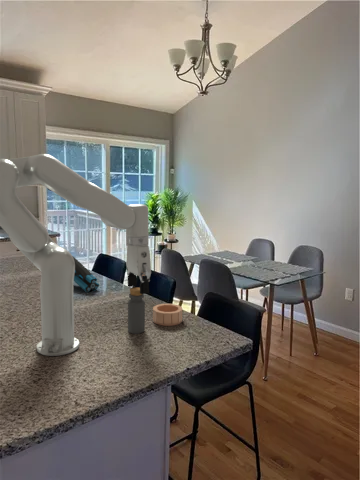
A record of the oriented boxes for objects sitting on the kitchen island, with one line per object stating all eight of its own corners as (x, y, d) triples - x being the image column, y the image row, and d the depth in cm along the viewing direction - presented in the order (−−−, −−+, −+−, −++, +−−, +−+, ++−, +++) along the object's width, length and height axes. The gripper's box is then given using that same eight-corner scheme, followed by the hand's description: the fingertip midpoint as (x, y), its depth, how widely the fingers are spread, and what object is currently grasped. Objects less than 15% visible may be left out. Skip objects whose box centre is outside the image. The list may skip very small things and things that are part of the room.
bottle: (124, 330, 130) (124, 288, 128) (137, 326, 134) (138, 285, 132) (134, 335, 126) (135, 292, 124) (148, 330, 130) (148, 289, 128)
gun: (83, 305, 175) (87, 277, 170) (56, 280, 191) (59, 253, 186) (97, 301, 181) (102, 274, 176) (70, 277, 197) (73, 251, 192)
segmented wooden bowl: (182, 326, 135) (183, 313, 135) (152, 325, 135) (152, 313, 134) (181, 315, 146) (181, 303, 145) (153, 315, 146) (153, 303, 145)
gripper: (159, 243, 120) (159, 294, 123) (136, 236, 135) (137, 282, 138) (138, 245, 116) (139, 298, 119) (117, 238, 131) (118, 285, 134)
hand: (138, 289), depth 128 cm, fingers open, 9 cm apart
